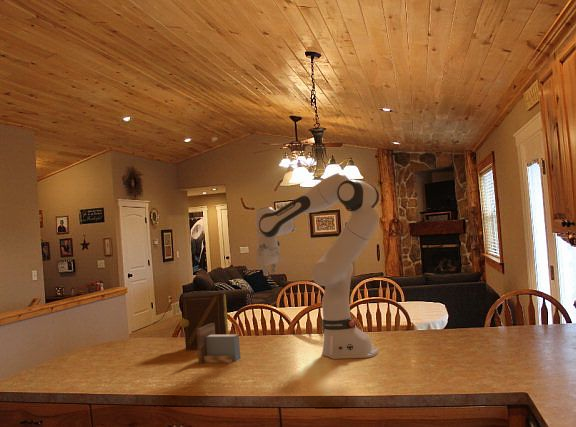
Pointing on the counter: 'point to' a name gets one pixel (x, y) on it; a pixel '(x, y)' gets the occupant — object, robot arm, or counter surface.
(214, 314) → the book
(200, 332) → the wooden display stand
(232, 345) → the box book
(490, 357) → the counter surface
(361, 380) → the counter surface
